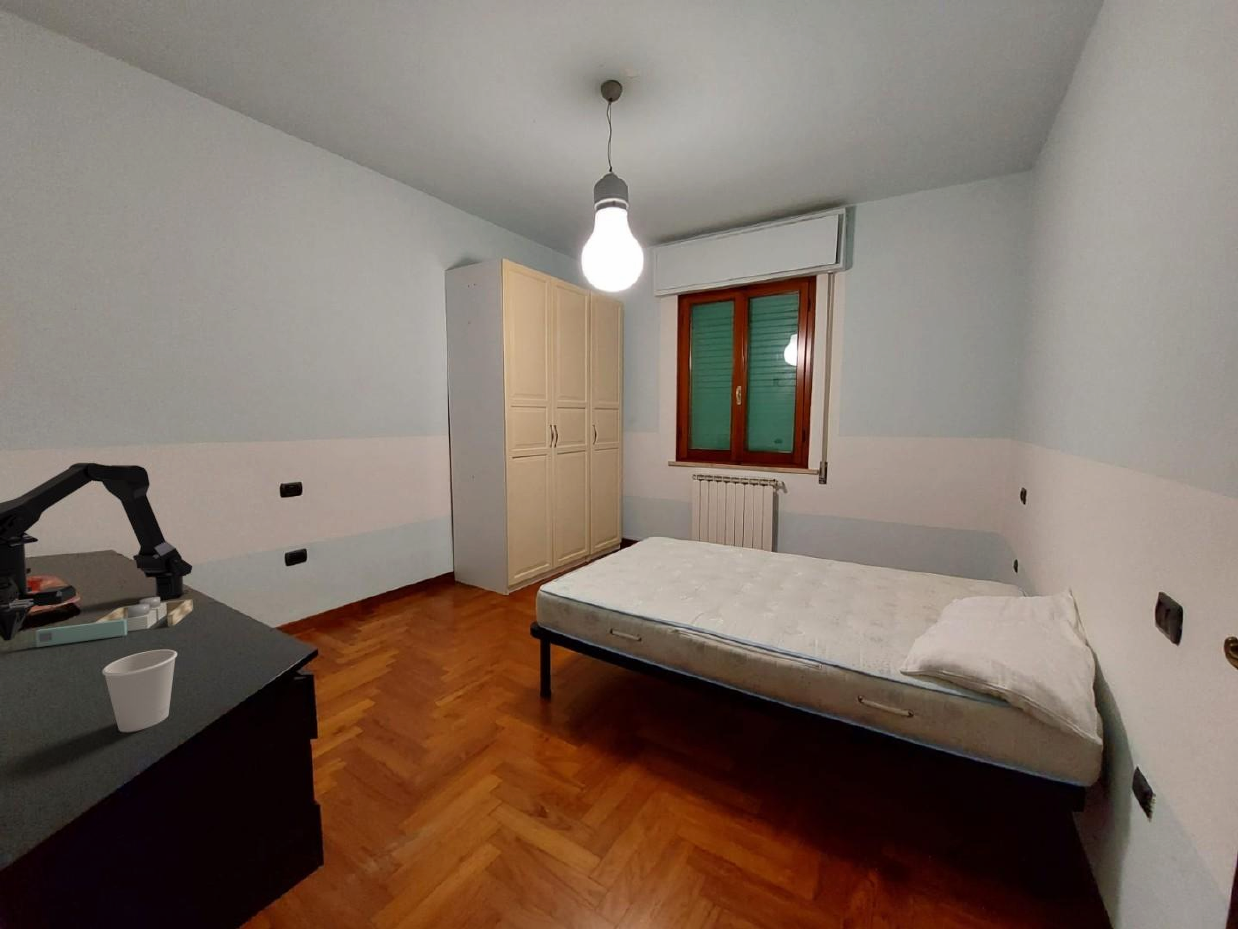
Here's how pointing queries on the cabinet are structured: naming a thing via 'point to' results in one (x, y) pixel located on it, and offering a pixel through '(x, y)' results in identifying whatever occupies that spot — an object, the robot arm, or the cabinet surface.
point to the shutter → (80, 632)
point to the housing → (176, 614)
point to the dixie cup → (141, 688)
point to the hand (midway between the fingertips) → (9, 640)
